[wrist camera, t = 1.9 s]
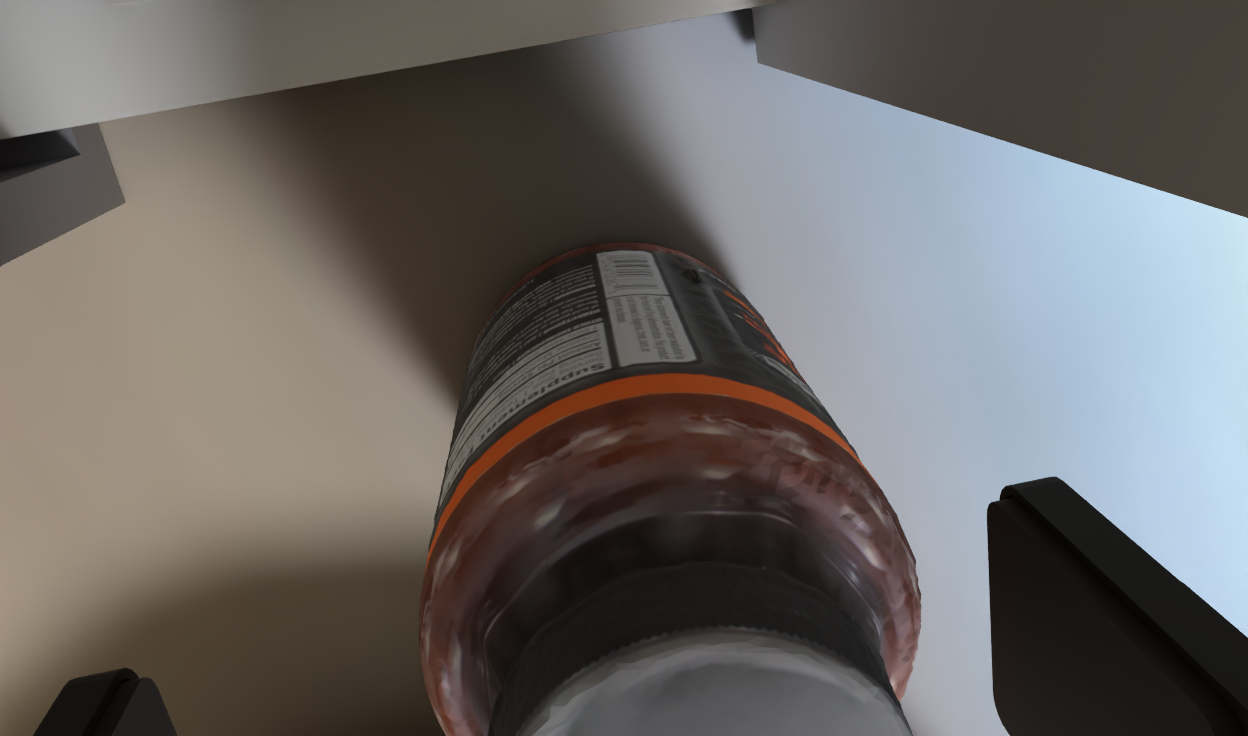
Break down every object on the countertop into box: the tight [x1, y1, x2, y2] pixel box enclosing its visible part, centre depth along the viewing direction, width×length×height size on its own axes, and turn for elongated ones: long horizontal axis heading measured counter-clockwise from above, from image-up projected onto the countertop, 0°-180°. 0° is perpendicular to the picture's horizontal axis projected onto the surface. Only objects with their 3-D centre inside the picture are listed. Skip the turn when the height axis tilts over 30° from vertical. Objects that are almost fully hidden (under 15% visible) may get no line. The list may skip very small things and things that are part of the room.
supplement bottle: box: [419, 242, 921, 736], centre depth 14 cm, size 6×6×11 cm
